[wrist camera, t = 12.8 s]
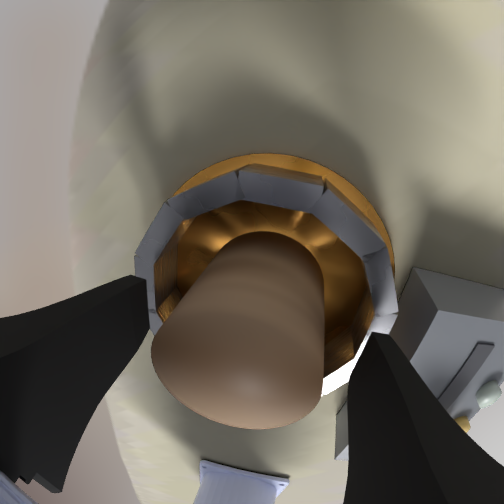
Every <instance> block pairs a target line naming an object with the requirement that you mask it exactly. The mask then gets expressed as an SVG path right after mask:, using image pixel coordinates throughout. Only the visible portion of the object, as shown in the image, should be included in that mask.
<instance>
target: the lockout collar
mask: <svg viewBox="0 0 504 504" xmlns="http://www.w3.org/2000/svg"><path fill="white" fill-rule="evenodd" d="M256 231H269V232H276V233H280V234H283V235H286V236H288V237H291V238H293V239H294V240H296V241H298V242H299V243H301V244H302V245H303V246H305V247H306V248H307V249H308V250H309V251H310V252H311V253H312V255H313V256H314V257H315V258H316V260H317V262H318V264H319V266H320V268H321V271H322V274H323V278H324V320H325V323H324V376H323V390H322V395H321V396H323V393H324V394H325V395H326V394H328V393H329V392H331V391H333V390H334V389H336V388H338V387H339V386H341V385H343V384H344V383H346V382H348V381H349V376H350V374H351V372H352V370H353V368H354V366H355V364H356V362H357V360H358V359H359V357H360V355H361V353H362V351H363V349H364V347H365V345H366V342H367V340H368V338H369V336H370V334H371V332H377V333H383V334H389V333H390V331H391V329H392V326H393V324H394V322H395V320H396V318H397V316H398V314H397V312H398V304H397V297H396V291H395V284H394V276H395V265H394V256H393V250H392V246H391V243H390V239H389V236H388V234H387V231H386V229H385V227H384V225H383V223H382V220H381V219H380V217H379V216H378V214H377V213H376V211H375V210H374V208H373V207H372V205H371V204H370V203H369V201H368V200H367V199H366V198H365V197H364V196H363V195H362V194H361V192H360V191H359V190H358V189H357V188H355V187H354V186H353V185H352V184H351V183H349V182H348V181H347V180H346V179H344V178H343V177H342V176H340V175H338V174H337V173H335V172H333V171H332V170H330V169H328V168H326V167H324V166H322V165H319V164H317V163H315V162H312V161H310V160H306V159H303V158H299V157H295V156H291V155H283V154H274V153H263V154H249V155H244V156H238V157H234V158H231V159H228V160H225V161H222V162H219V163H216V164H214V165H212V166H210V167H208V168H206V169H204V170H202V171H200V172H199V173H197V174H196V175H195V176H193V177H192V178H191V179H189V180H188V181H187V182H185V183H184V184H183V185H182V186H181V187H180V188H179V189H178V190H177V191H176V192H175V194H174V195H173V196H172V198H170V199H168V200H167V201H166V202H164V204H163V205H162V207H161V209H160V210H159V212H158V214H157V215H156V217H155V219H154V220H153V222H152V224H151V225H150V227H149V229H148V231H147V232H146V234H145V236H144V238H143V239H142V241H141V243H140V245H139V246H138V248H137V250H136V252H135V253H136V255H135V256H134V260H135V276H136V277H140V278H143V279H146V281H147V297H148V310H149V321H150V330H151V331H152V333H153V334H154V336H155V335H156V333H157V331H158V330H159V328H160V327H161V326H162V325H163V323H164V322H165V321H166V319H167V318H168V317H169V315H170V314H171V313H172V311H173V310H174V309H175V307H176V306H177V305H178V303H179V302H180V301H181V299H182V298H183V297H184V296H185V294H186V293H187V292H188V290H189V289H190V288H191V286H192V285H193V284H194V283H195V281H196V280H197V279H198V277H199V276H200V275H201V274H202V272H203V271H204V270H205V268H206V267H207V266H208V265H209V263H210V262H211V261H212V259H213V258H214V257H215V256H216V254H217V253H218V252H219V251H220V249H221V248H222V247H223V246H224V245H225V244H226V243H228V242H229V241H230V240H232V239H234V238H235V237H237V236H240V235H242V234H245V233H249V232H256Z"/></svg>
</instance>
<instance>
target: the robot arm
mask: <svg viewBox="0 0 504 504" xmlns="http://www.w3.org/2000/svg"><path fill="white" fill-rule="evenodd" d="M149 329H150V321H149V310H148V297H147V281H146V279H143V278H140V277H136V276H133V275H129V276H126V277H123V278H120V279H117V280H114V281H112V282H109V283H107V284H104V285H102V286H99V287H97V288H94V289H92V290H89V291H87V292H84V293H82V294H79V295H77V296H74V297H71V298H68V299H66V300H63V301H60V302H57V303H55V304H52V305H49V306H46V307H43V308H40V309H37V310H33V311H30V312H26V313H22V314H19V315H14V316H9V317H4V318H0V504H38V503H37V502H35V501H34V500H33V499H32V498H30V497H29V496H28V495H27V494H26V493H25V492H24V491H22V490H21V489H20V488H19V487H18V486H17V485H16V484H15V482H16V481H17V479H18V478H20V479H22V480H23V481H24V482H25V483H26V484H29V483H30V482H31V480H32V479H34V480H35V481H37V482H38V483H39V484H41V485H42V486H44V487H45V488H46V489H48V490H49V491H50V492H52V493H60V492H62V489H63V485H64V482H65V479H66V475H67V472H68V469H69V466H70V463H71V461H72V458H73V456H74V453H75V451H76V448H77V446H78V443H79V441H80V439H81V437H82V435H83V433H84V431H85V428H86V426H87V424H88V423H89V421H90V419H91V417H92V415H93V413H94V411H95V410H96V408H97V406H98V404H99V403H100V401H101V400H102V398H103V397H104V395H105V394H106V393H107V391H108V390H109V388H110V387H111V386H112V384H113V383H114V382H115V380H116V379H117V378H118V376H119V375H120V374H121V372H122V371H123V370H124V368H125V367H126V366H127V364H128V363H129V362H130V360H131V359H132V358H133V356H134V355H135V353H136V352H137V351H138V349H139V347H140V345H141V344H142V342H143V340H144V338H145V336H146V334H147V333H148V331H149ZM347 415H348V455H349V463H348V477H347V484H346V491H345V497H344V503H343V504H504V467H503V466H502V465H501V464H499V463H498V462H497V461H496V460H495V459H493V458H492V457H491V456H489V454H487V453H486V452H485V451H484V450H483V449H482V448H481V447H480V446H479V445H477V443H476V442H474V441H473V440H472V439H471V438H470V437H469V436H468V435H467V433H466V432H465V431H464V430H463V429H462V428H461V427H460V426H459V425H458V424H457V422H456V421H455V420H454V419H453V418H452V417H451V416H450V415H449V413H448V412H447V411H446V410H445V408H444V407H443V406H442V405H441V403H440V402H439V401H438V400H437V398H436V397H435V396H434V394H433V393H432V392H431V390H430V389H429V388H428V386H427V385H426V384H425V382H424V381H423V380H422V378H421V377H420V375H419V374H418V373H417V371H416V370H415V368H414V367H413V366H412V364H411V363H410V361H409V360H408V359H407V357H406V356H405V354H404V353H403V352H402V350H401V349H400V348H399V346H398V345H397V343H396V342H395V341H394V340H393V338H392V337H391V336H390V335H389V334H383V333H377V332H371V334H370V336H369V338H368V340H367V342H366V345H365V347H364V349H363V351H362V353H361V355H360V357H359V359H358V360H357V362H356V364H355V366H354V368H353V370H352V372H351V374H350V376H349V385H348V398H347ZM288 484H289V479H286V478H280V477H274V476H268V475H263V474H258V473H253V472H248V471H244V470H240V469H235V468H231V467H227V466H224V465H220V464H216V463H213V462H209V461H206V460H201V461H200V487H199V490H198V492H197V495H196V498H195V500H194V503H193V504H274V503H275V498H276V497H277V496H278V495H279V494H280V493H281V492H282V491H283V490H284V489H285V488H286V486H287V485H288Z"/></svg>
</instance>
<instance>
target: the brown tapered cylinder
mask: <svg viewBox="0 0 504 504" xmlns="http://www.w3.org/2000/svg"><path fill="white" fill-rule="evenodd" d="M324 323H325V320H324V278H323V274H322V271H321V268H320V266H319V264H318V262H317V260H316V258H315V257H314V256H313V255H312V253H311V252H310V251H309V250H308V249H307V248H306V247H305V246H303V245H302V244H301V243H299V242H298V241H296V240H294V239H293V238H291V237H288V236H286V235H283V234H280V233H276V232H269V231H256V232H249V233H245V234H242V235H240V236H237V237H235V238H234V239H232V240H230V241H229V242H228V243H226V244H225V245H224V246H223V247H222V248H221V249H220V251H219V252H218V253H217V254H216V256H215V257H214V258H213V259H212V261H211V262H210V263H209V265H208V266H207V267H206V268H205V270H204V271H203V272H202V274H201V275H200V276H199V277H198V279H197V280H196V281H195V283H194V284H193V285H192V286H191V288H190V289H189V290H188V292H187V293H186V294H185V296H184V297H183V298H182V299H181V301H180V302H179V303H178V305H177V306H176V307H175V309H174V310H173V311H172V313H171V314H170V315H169V317H168V318H167V319H166V321H165V322H164V323H163V325H162V326H161V327H160V328H159V330H158V331H157V333H156V335H155V336H154V339H153V342H152V347H151V358H152V363H153V366H154V369H155V371H156V373H157V375H158V377H159V379H160V380H161V382H162V383H163V385H164V386H165V387H166V389H167V390H168V391H169V392H170V393H171V394H172V395H173V396H174V397H175V398H176V399H177V400H179V401H180V402H181V403H182V404H183V405H185V406H186V407H188V408H189V409H191V410H192V411H194V412H196V413H198V414H199V415H201V416H204V417H206V418H208V419H210V420H213V421H215V422H218V423H221V424H225V425H229V426H233V427H238V428H245V429H271V428H277V427H282V426H285V425H289V424H291V423H294V422H296V421H298V420H300V419H302V418H304V417H305V416H306V415H308V414H309V413H310V412H311V411H312V410H313V409H314V408H315V407H316V405H317V404H318V402H319V400H320V398H321V395H322V390H323V376H324Z"/></svg>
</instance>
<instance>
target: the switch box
mask: <svg viewBox="0 0 504 504" xmlns="http://www.w3.org/2000/svg"><path fill="white" fill-rule="evenodd" d="M397 314H398V316H397V318H396V320H395V322H394V324H393V326H392V329H391V331H390V333H389V335H390V336H391V337H392V338H393V340H394V341H395V342H396V343H397V345H398V346H399V348H400V349H401V350H402V352H403V353H404V354H405V356H406V357H407V359H408V360H409V361H410V363H411V364H412V366H413V367H414V368H415V370H416V371H417V373H418V374H419V375H420V377H421V378H422V380H423V381H424V382H425V384H426V385H427V386H428V388H429V389H430V390H431V392H432V393H433V394H434V396H435V397H436V398H437V400H438V401H439V402H440V403H441V405H442V406H443V407H444V408H445V410H446V411H447V412H448V413H449V415H450V416H451V417H452V418H453V419H454V420H455V421H456V422H457V424H458V425H459V426H460V427H461V428H462V429H463V430H464V431H465V432H466V433H467V432H468V430H469V429H470V424H469V421H470V419H471V418H472V417H473V416H474V415H475V414H476V413H477V412H478V411H479V410H480V409H481V408H486V407H488V406H490V405H492V404H493V403H495V402H496V401H497V400H498V398H499V397H500V396H501V394H502V391H501V389H500V387H499V386H500V385H501V384H502V382H503V381H504V289H500V288H496V287H492V286H488V285H484V284H481V283H477V282H473V281H469V280H465V279H461V278H457V277H453V276H449V275H445V274H441V273H437V272H432V271H428V270H424V269H420V268H416V267H413V268H412V271H411V273H410V276H409V279H408V281H407V283H406V286H405V288H404V291H403V293H402V296H401V298H400V300H399V302H398V312H397ZM334 460H346V461H349V455H348V415H347V401H346V403H345V404H344V406H343V407H342V409H341V410H340V412H339V413H338V415H337V416H336V439H335V459H334Z"/></svg>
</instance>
